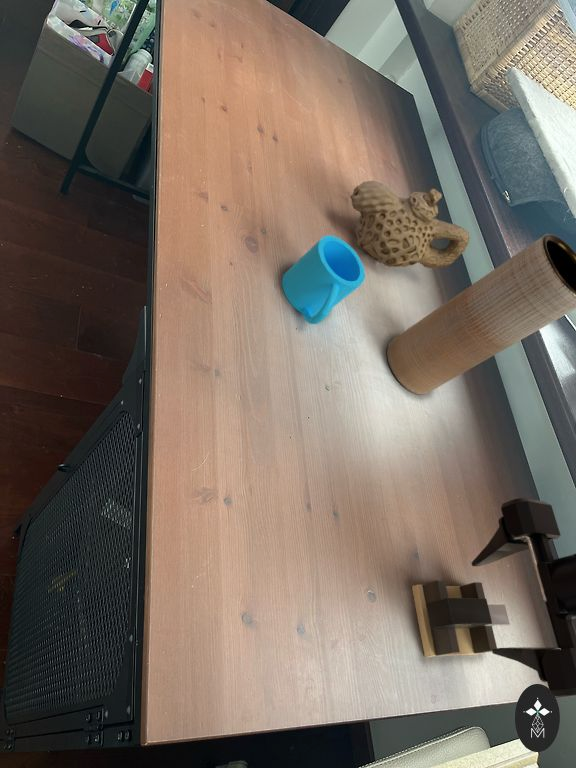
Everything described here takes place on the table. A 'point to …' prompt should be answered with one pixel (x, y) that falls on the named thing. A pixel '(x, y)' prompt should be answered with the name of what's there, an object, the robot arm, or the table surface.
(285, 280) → the mug
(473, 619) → the knife
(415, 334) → the vase
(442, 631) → the rack
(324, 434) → the table surface
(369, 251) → the teapot
